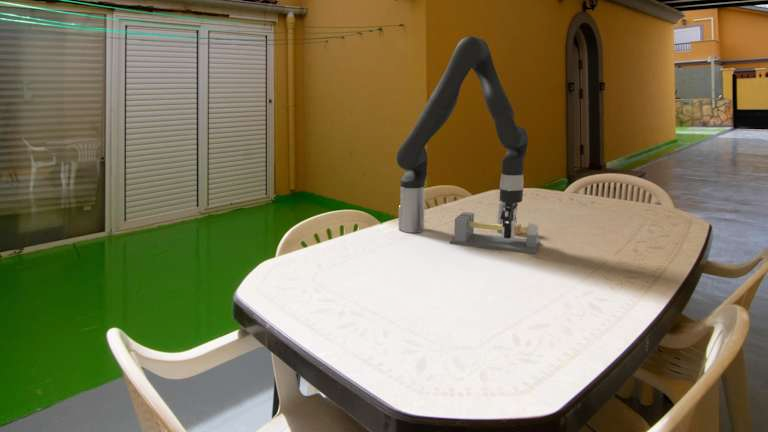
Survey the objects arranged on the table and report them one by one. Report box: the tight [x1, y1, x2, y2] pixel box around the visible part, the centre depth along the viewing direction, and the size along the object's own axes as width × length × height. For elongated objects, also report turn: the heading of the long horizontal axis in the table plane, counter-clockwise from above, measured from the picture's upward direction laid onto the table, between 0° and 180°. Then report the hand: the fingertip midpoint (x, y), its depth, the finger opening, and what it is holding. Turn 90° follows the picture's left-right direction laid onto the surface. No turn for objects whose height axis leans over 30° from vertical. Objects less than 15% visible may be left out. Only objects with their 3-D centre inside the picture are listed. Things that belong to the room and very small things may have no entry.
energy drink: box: [496, 199, 506, 234], centre depth 173 cm, size 5×5×12 cm
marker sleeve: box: [501, 219, 518, 238], centre depth 157 cm, size 4×5×5 cm
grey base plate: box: [449, 232, 541, 255], centre depth 160 cm, size 29×12×1 cm, turn 65°
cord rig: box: [453, 211, 540, 248], centre depth 159 cm, size 27×11×8 cm, turn 65°
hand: (508, 235), depth 157 cm, fingers closed on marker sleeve, 5 cm apart
